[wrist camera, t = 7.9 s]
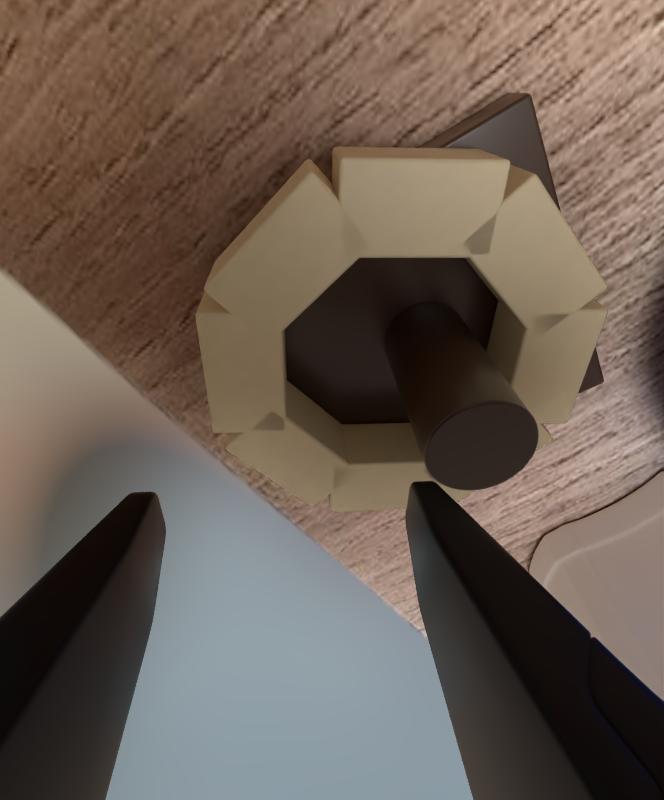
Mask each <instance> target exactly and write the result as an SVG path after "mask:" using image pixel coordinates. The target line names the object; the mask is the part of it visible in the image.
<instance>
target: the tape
mask: <svg viewBox="0 0 664 800" xmlns="http://www.w3.org/2000/svg"><path fill="white" fill-rule="evenodd" d="M359 258H465V259H466V261H467V262H468V263H469V264H470V266H471V267H472V268H473V269H474V271H475V272H476V273H477V274H478V276H479V277H480V278H481V279H482V281H483V282H484V283H485V284H486V286H487V287H488V288H489V289H490V291H491V292H492V293H493V294H494V296H495V297H496V298H497V299H498V303H497V308H496V312H495V317H494V321H493V325H492V330H491V334H490V338H489V343H488V347H487V351H486V352H487V354H488V355H489V357H490V358H491V359H492V361H493V362H494V363H495V365H496V366H497V368H498V369H499V370H500V372H501V373H502V374H503V376H504V377H505V379H506V380H507V381H508V383H509V384H510V386H511V387H512V388H513V390H514V391H515V392H516V394H517V395H518V397H519V398H520V399H521V401H522V402H523V403H524V405H525V406H526V408H527V409H528V410H529V412H530V413H531V414H532V416H533V417H534V419H535V421H536V423H537V426H538V433H539V437H538V444H537V448H536V450H535V451H537V450H538V449H540V448H541V447H543V446H544V445H546V444H548V443H549V442H551V441H552V440H553V437H552V436H551V434H550V433H549V432H548V430H547V429H546V427H545V426H544V425H543V424H557V423H566V422H567V421H568V419H569V416H570V413H571V410H572V408H573V405H574V402H575V400H576V397H577V394H578V392H579V389H580V386H581V384H582V381H583V378H584V376H585V373H586V370H587V368H588V365H589V362H590V359H591V357H592V354H593V351H594V349H595V346H596V343H597V341H598V338H599V335H600V333H601V330H602V327H603V325H604V322H605V319H606V317H607V314H608V310H607V309H606V308H605V307H603V306H602V305H601V304H599V303H598V302H596V301H595V300H594V298H595V297H596V296H598V295H599V294H600V293H602V292H603V291H604V290H606V288H607V285H606V283H605V282H604V280H603V278H602V277H601V275H600V274H599V272H598V271H597V269H596V267H595V266H594V264H593V263H592V261H591V260H590V258H589V256H588V255H587V253H586V252H585V250H584V249H583V247H582V245H581V244H580V242H579V241H578V239H577V237H576V236H575V234H574V233H573V231H572V230H571V228H570V226H569V225H568V223H567V222H566V220H565V219H564V217H563V215H562V214H561V212H560V211H559V209H558V208H557V206H556V204H555V203H554V201H553V200H552V198H551V196H550V195H549V193H548V192H547V190H546V189H545V187H544V185H543V184H542V182H541V181H540V179H539V178H538V176H537V175H536V174H534V173H531V172H529V171H526V170H523V169H521V168H518V167H515V166H513V165H510V161H509V160H507V159H505V158H502V157H499V156H497V155H494V154H491V153H488V152H485V151H482V150H480V149H463V148H399V147H335V148H334V149H333V151H332V183H331V182H330V181H329V179H328V178H327V177H326V176H325V175H324V174H323V173H322V172H321V170H320V169H319V168H318V167H317V166H316V165H315V164H314V163H313V161H311V160H309V159H308V160H306V161H305V162H304V163H303V164H302V165H301V166H300V167H299V168H298V170H297V171H296V172H295V173H294V174H293V175H292V176H291V177H290V178H289V180H288V181H287V182H286V183H285V184H284V185H283V186H282V187H281V188H280V190H279V191H278V192H277V193H276V194H275V195H274V196H273V197H272V198H271V200H270V201H269V202H268V203H267V204H266V205H265V206H264V207H263V208H262V210H261V211H260V212H259V213H258V214H257V215H256V216H255V217H254V218H253V220H252V221H251V222H250V223H249V224H248V225H247V226H246V227H245V228H244V230H243V231H242V232H241V233H240V234H239V235H238V236H237V237H236V238H235V240H234V241H233V242H232V243H231V244H230V245H229V246H228V247H227V248H226V250H225V251H224V252H223V253H222V254H221V255H220V256H219V257H218V258H217V260H216V261H215V263H214V265H213V267H212V270H211V272H210V274H209V277H208V279H207V281H206V284H205V286H204V291H205V292H204V295H203V297H202V299H201V302H200V304H199V307H198V309H197V312H196V314H195V318H196V325H197V331H198V338H199V344H200V351H201V358H202V364H203V371H204V377H205V384H206V390H207V397H208V404H209V410H210V417H211V423H212V430H213V432H214V433H228V434H227V440H226V445H225V449H226V450H227V451H228V452H230V453H231V454H233V455H234V456H236V457H237V458H239V459H240V460H242V461H244V462H245V463H247V464H248V465H250V466H251V467H253V468H254V469H256V470H257V471H259V472H260V473H262V474H263V475H265V476H266V477H268V478H269V479H271V480H272V481H274V482H275V483H277V484H278V485H280V486H281V487H283V488H284V489H286V490H287V491H289V492H290V493H292V494H293V495H295V496H296V497H298V498H299V499H301V500H302V501H304V502H305V503H307V504H308V505H310V506H312V507H313V506H315V505H316V504H318V503H319V502H320V501H322V500H323V499H324V498H326V497H327V496H328V495H329V504H330V510H331V512H346V511H371V510H395V509H406V508H407V502H408V495H409V489H410V485H411V483H413V482H415V481H434V482H435V483H437V484H438V485H439V486H440V487H441V488H442V489H443V490H444V491H445V492H446V493H447V494H448V495H449V496H451V497H452V498H453V499H454V500H455V501H457V502H459V501H460V500H462V499H463V498H465V497H466V496H468V495H469V494H471V493H472V492H474V491H475V490H457V489H453V488H449V487H447V486H444V485H442V484H441V483H439V482H438V481H436V480H435V479H434V478H433V477H432V476H431V475H430V474H429V472H428V471H427V469H426V467H425V464H424V461H423V458H422V455H421V452H420V450H419V447H418V444H417V441H416V438H415V435H414V432H413V430H412V427H411V424H410V423H381V424H344V425H342V424H341V423H339V422H338V421H337V420H336V419H334V418H333V417H332V416H331V415H330V414H328V413H327V412H326V411H325V410H323V409H322V408H321V407H320V406H318V405H317V404H316V403H315V402H313V401H312V400H311V399H310V398H308V397H307V396H306V395H305V394H303V393H302V392H301V391H300V390H298V389H297V388H296V387H295V386H293V385H292V384H291V383H290V382H288V381H287V375H286V348H285V328H286V327H287V326H289V325H290V324H291V323H292V322H293V321H294V320H295V319H296V318H297V317H298V316H299V315H300V314H301V313H302V312H303V311H304V310H305V309H306V308H307V307H308V306H309V305H311V304H312V303H313V302H314V301H315V300H316V299H317V298H318V297H319V296H320V295H321V294H322V293H323V292H324V291H325V290H326V289H327V288H328V287H329V286H330V285H331V284H332V283H334V282H335V281H336V280H337V279H338V278H339V277H340V276H341V275H342V274H343V273H344V272H345V271H346V270H347V269H348V268H349V267H350V266H351V265H352V264H353V263H354V262H356V261H357V260H358V259H359Z"/></svg>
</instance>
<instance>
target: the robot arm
mask: <svg viewBox="0 0 664 800" xmlns="http://www.w3.org/2000/svg"><path fill="white" fill-rule="evenodd" d="M406 528H407V534H408V541H409V547H410V553H411V559H412V565H413V572H414V578H415V584H416V590H417V596H418V601H419V607H420V611H421V615H422V619H423V622H424V626H425V629H426V633H427V636H428V640H429V644H430V647H431V651H432V654H433V658H434V661H435V665H436V668H437V672H438V675H439V679H440V683H441V686H442V690H443V693H444V697H445V700H446V704H447V707H448V711H449V714H450V718H451V721H452V725H453V729H454V732H455V736H456V739H457V743H458V747H459V750H460V754H461V757H462V761H463V764H464V768H465V771H466V775H467V778H468V782H469V786H470V789H471V793H472V796H473V800H664V701H663V700H662V699H661V698H660V697H658V696H657V695H656V694H655V693H654V692H653V691H652V690H651V689H649V688H648V687H647V686H646V685H645V684H644V683H643V682H642V681H641V680H640V679H639V678H638V677H637V676H636V675H634V674H633V673H632V672H631V671H630V670H629V669H628V668H627V667H626V666H625V665H624V664H623V663H622V662H621V661H619V660H618V659H617V658H616V657H615V656H614V655H613V654H612V653H611V652H610V651H609V650H608V649H607V648H606V647H605V646H604V645H603V644H602V643H601V642H600V641H599V640H598V639H597V638H595V637H591V633H590V632H589V631H588V630H587V629H586V628H585V627H584V626H583V625H582V624H581V623H580V622H579V621H578V620H577V619H576V618H575V617H574V616H573V615H572V614H571V613H570V612H569V611H568V610H567V609H566V608H565V607H564V606H563V605H561V604H560V603H559V602H558V601H557V600H556V599H555V598H554V597H553V596H552V595H551V594H550V593H549V592H548V591H547V590H546V589H545V588H544V587H543V586H542V585H541V584H540V583H539V582H538V581H537V580H536V579H535V578H534V577H533V576H532V575H531V574H530V573H529V572H528V571H526V570H525V569H524V568H523V567H522V566H521V565H520V564H519V563H518V562H517V561H516V560H515V559H514V558H513V557H512V556H511V555H510V554H509V553H508V552H507V551H506V550H505V549H504V548H503V547H502V546H501V545H500V544H499V543H498V542H497V541H496V540H495V539H494V538H493V537H491V536H490V535H489V534H488V533H487V532H486V531H485V530H484V529H483V528H482V527H481V526H480V525H479V524H478V523H477V522H476V521H475V520H474V519H473V518H472V517H471V516H470V515H469V514H468V513H467V512H466V511H465V510H464V509H463V508H462V507H461V506H460V505H459V504H458V503H456V502H455V501H454V500H453V499H452V498H451V497H450V496H449V495H448V494H447V493H446V492H445V491H444V490H443V489H442V488H441V487H440V486H439V485H438V484H437V483H435V482H434V481H415V482H413V483H411V485H410V489H409V495H408V502H407V508H406ZM165 535H166V527H165V521H164V518H163V514H162V510H161V506H160V502H159V499H158V496H157V495H156V493H154V492H135V493H131V494H129V495H128V496H127V497H125V498H124V499H123V501H121V502H120V503H119V504H118V505H117V506H116V507H115V508H114V509H113V510H112V511H111V512H110V513H109V514H108V515H107V516H106V517H105V518H104V519H103V520H101V521H100V522H99V523H98V524H97V525H96V526H95V527H94V528H93V529H92V530H91V531H90V532H89V533H88V534H87V535H86V536H85V537H84V538H83V539H82V540H81V541H80V542H78V543H77V545H75V546H74V547H73V548H72V549H71V550H70V551H69V552H68V553H67V554H66V555H65V556H64V557H63V558H62V559H61V560H60V561H59V562H58V563H57V564H56V565H54V566H53V567H52V568H51V569H50V570H49V571H48V572H47V573H46V574H45V575H44V576H43V577H42V578H41V579H40V580H39V581H38V582H37V583H36V584H35V585H34V586H33V587H31V589H29V590H28V591H27V592H26V593H25V594H24V595H23V596H22V597H21V598H20V599H19V600H18V601H17V602H16V603H15V604H14V605H13V606H12V607H11V608H10V609H9V610H7V612H5V613H4V614H3V615H2V616H1V617H0V800H105V799H106V795H107V791H108V788H109V784H110V780H111V776H112V772H113V769H114V765H115V762H116V758H117V753H118V750H119V747H120V742H121V739H122V735H123V731H124V728H125V724H126V720H127V716H128V713H129V709H130V706H131V702H132V698H133V694H134V691H135V687H136V683H137V679H138V675H139V672H140V668H141V665H142V661H143V657H144V653H145V650H146V645H147V642H148V638H149V634H150V630H151V626H152V622H153V615H154V610H155V604H156V597H157V590H158V584H159V577H160V570H161V563H162V557H163V550H164V544H165Z"/></svg>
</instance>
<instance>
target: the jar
mask: <svg viewBox="0 0 664 800" xmlns="http://www.w3.org/2000/svg"><path fill="white" fill-rule="evenodd" d="M529 573H530V574H531V575H532V576H533V577H534V578H535V579H536V580H537V581H538V582H539V583H540V584H541V585H542V586H543V587H544V588H545V589H546V590H547V591H548V592H549V593H550V594H551V595H552V596H553V597H554V598H555V599H556V600H557V601H558V602H559V603H560V604H561V605H563V606H564V607H565V608H566V609H567V610H568V611H569V612H570V613H571V614H572V615H573V616H574V617H575V618H576V619H577V620H578V621H579V622H580V623H581V624H582V625H583V626H584V627H585V628H586V629H587V630H588V631H589V632H590V633H591V637H595V638H597V639H598V640H599V641H600V642H601V643H602V644H603V645H604V646H605V647H606V648H607V649H608V650H609V651H610V652H611V653H612V654H613V655H614V656H615V657H616V658H617V659H618V660H619V661H621V662H622V663H623V664H624V665H625V666H626V667H627V668H628V669H629V670H630V671H631V672H632V673H633V674H634V675H636V676H637V677H638V678H639V679H640V680H641V681H642V682H643V683H644V684H645V685H646V686H647V687H648V688H649V689H651V690H652V691H653V692H654V693H655V694H656V695H657V696H658V697H660V698H661V699H662V700H663V701H664V471H662V472H660V473H659V474H657V475H656V476H655V477H654V478H653V479H651V480H650V481H649V482H648V483H646V484H645V485H643V486H642V487H641V488H639V489H638V490H636V491H635V492H633V493H632V494H630V495H628V496H627V497H625V498H623V499H622V500H620V501H618V502H616V503H615V504H613V505H611V506H609V507H607V508H605V509H603V510H601V511H599V512H597V513H594V514H592V515H590V516H587V517H585V518H582V519H580V520H577V521H574V522H571V523H568V524H565V525H563V526H561V527H559V528H557V529H556V530H554V531H552V532H550V533H548V534H546V535H545V536H544V537H543V539H542V540H541V542H540V543H539V545H538V547H537V548H536V550H535V553H534V555H533V557H532V560H531V564H530V569H529Z"/></svg>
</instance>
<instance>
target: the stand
mask: <svg viewBox="0 0 664 800" xmlns="http://www.w3.org/2000/svg"><path fill="white" fill-rule="evenodd" d="M420 148H463V149H480V150H482V151H485V152H488V153H491V154H494V155H497V156H499V157H502V158H505V159H507V160H509V161H510V165H513V166H515V167H518V168H521V169H523V170H526V171H529V172H531V173H534V174H536V175H537V176H538V178H539V179H540V181H541V182H542V184H543V185H544V187H545V189H546V190H547V192H548V193H549V195H550V196H551V198H552V200H553V201H554V203H555V204H556V206H557V208H558V209H559V211H560V207H559V203H558V199H557V195H556V191H555V187H554V184H553V180H552V176H551V172H550V168H549V164H548V160H547V156H546V152H545V148H544V144H543V140H542V137H541V133H540V129H539V125H538V121H537V117H536V113H535V109H534V105H533V101H532V97H531V95H530V94H527V93H508V94H507V95H505V96H503V97H502V98H500V99H499V100H497V101H495V102H494V103H492V104H490V105H489V106H487V107H485V108H484V109H482V110H480V111H479V112H477V113H476V114H474V115H472V116H471V117H469V118H467V119H466V120H464V121H462V122H461V123H459V124H457V125H456V126H454V127H453V128H451V129H449V130H448V131H446V132H444V133H443V134H441V135H439V136H438V137H436V138H434V139H433V140H431V141H430V142H428V143H426V144H425V145H423V146H421V147H420ZM560 212H561V211H560ZM497 303H498V299H497V298H496V297H495V296H494V294H493V293H492V292H491V291H490V289H489V288H488V287H487V286H486V284H485V283H484V282H483V281H482V279H481V278H480V277H479V276H478V274H477V273H476V272H475V271H474V269H473V268H472V267H471V266H470V264H469V263H468V262H467V261H466V259H465V258H359V259H358V260H357V261H356V262H354V263H353V264H352V265H351V266H350V267H349V268H348V269H347V270H346V271H345V272H344V273H343V274H342V275H341V276H340V277H339V278H338V279H337V280H336V281H335V282H334V283H332V284H331V285H330V286H329V287H328V288H327V289H326V290H325V291H324V292H323V293H322V294H321V295H320V296H319V297H318V298H317V299H316V300H315V301H314V302H313V303H312V304H311V305H309V306H308V307H307V308H306V309H305V310H304V311H303V312H302V313H301V314H300V315H299V316H298V317H297V318H296V319H295V320H294V321H293V322H292V323H291V324H290V325H289V326H287V327H286V328H285V348H286V375H287V381H288V382H290V383H291V384H292V385H293V386H295V387H296V388H297V389H298V390H300V391H301V392H302V393H303V394H305V395H306V396H307V397H308V398H310V399H311V400H312V401H313V402H315V403H316V404H317V405H318V406H320V407H321V408H322V409H323V410H325V411H326V412H327V413H328V414H330V415H331V416H332V417H333V418H334V419H336V420H337V421H338V422H339V423H341V424H342V425H344V424H381V423H410V424H411V427H412V430H413V432H414V435H415V438H416V441H417V444H418V447H419V450H420V452H421V455H422V458H423V461H424V464H425V467H426V469H427V471H428V472H429V474H430V475H431V476H432V477H433V478H434V479H435V480H436V481H438V482H439V483H441V484H442V485H444V486H447V487H449V488H453V489H457V490H480V489H485V488H489V487H492V486H495V485H498V484H500V483H502V482H504V481H506V480H508V479H510V478H511V477H513V476H514V475H515V474H517V473H518V472H519V471H520V470H522V469H523V468H524V467H525V465H526V464H527V463H528V462H529V461H530V459H531V458H532V456H533V454H534V452H535V450H536V448H537V444H538V437H539V433H538V426H537V423H536V421H535V419H534V417H533V416H532V414H531V413H530V412H529V410H528V409H527V408H526V406H525V405H524V403H523V402H522V401H521V399H520V398H519V397H518V395H517V394H516V392H515V391H514V390H513V388H512V387H511V386H510V384H509V383H508V381H507V380H506V379H505V377H504V376H503V374H502V373H501V372H500V370H499V369H498V368H497V366H496V365H495V363H494V362H493V361H492V359H491V358H490V357H489V355H488V354H487V352H486V351H487V347H488V343H489V338H490V334H491V330H492V325H493V321H494V317H495V312H496V308H497ZM603 382H604V379H603V375H602V372H601V368H600V364H599V360H598V356H597V352H596V348H595V349H594V351H593V354H592V357H591V359H590V362H589V365H588V368H587V370H586V373H585V376H584V378H583V381H582V384H581V386H580V389H579V392H578V394H579V393H581V392H583V391H585V390H588V389H590V388H592V387H594V386H596V385H599V384H601V383H603Z"/></svg>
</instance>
